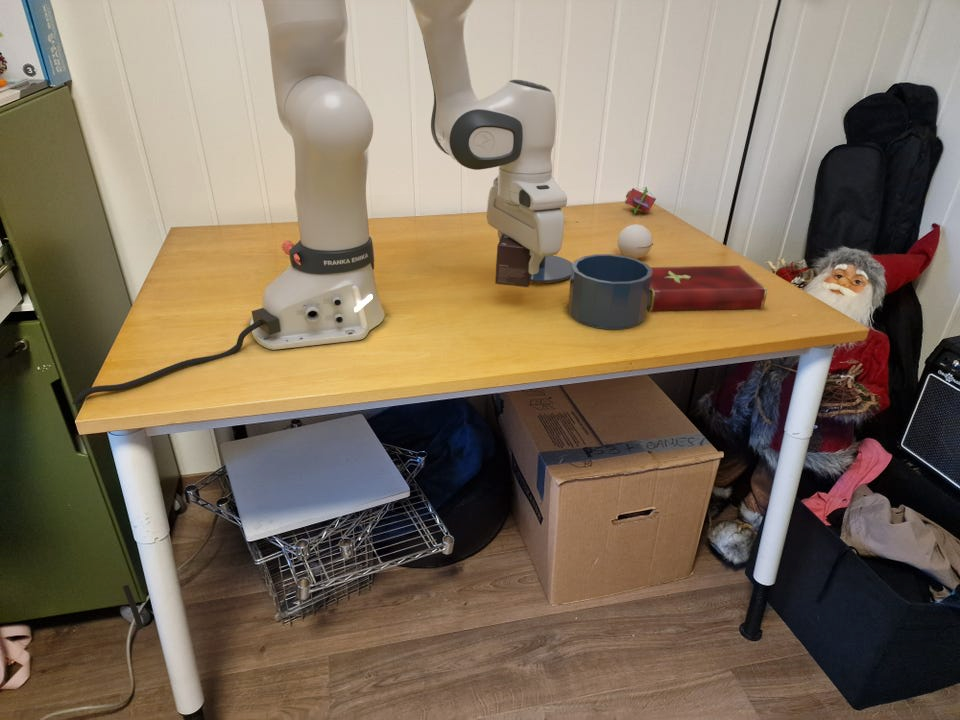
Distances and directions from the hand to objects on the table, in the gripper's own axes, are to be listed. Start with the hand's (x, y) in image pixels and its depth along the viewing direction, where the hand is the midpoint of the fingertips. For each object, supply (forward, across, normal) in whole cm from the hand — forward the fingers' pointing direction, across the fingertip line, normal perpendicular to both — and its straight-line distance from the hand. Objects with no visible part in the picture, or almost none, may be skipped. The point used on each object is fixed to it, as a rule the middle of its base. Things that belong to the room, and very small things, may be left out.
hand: (518, 264), depth 115 cm
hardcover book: (+7, +12, +32) cm, 35 cm away
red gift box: (+6, -36, +57) cm, 67 cm away
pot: (+7, +10, +13) cm, 18 cm away
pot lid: (+7, -12, +12) cm, 18 cm away
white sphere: (+7, -10, +36) cm, 38 cm away
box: (+3, 0, -1) cm, 3 cm away
